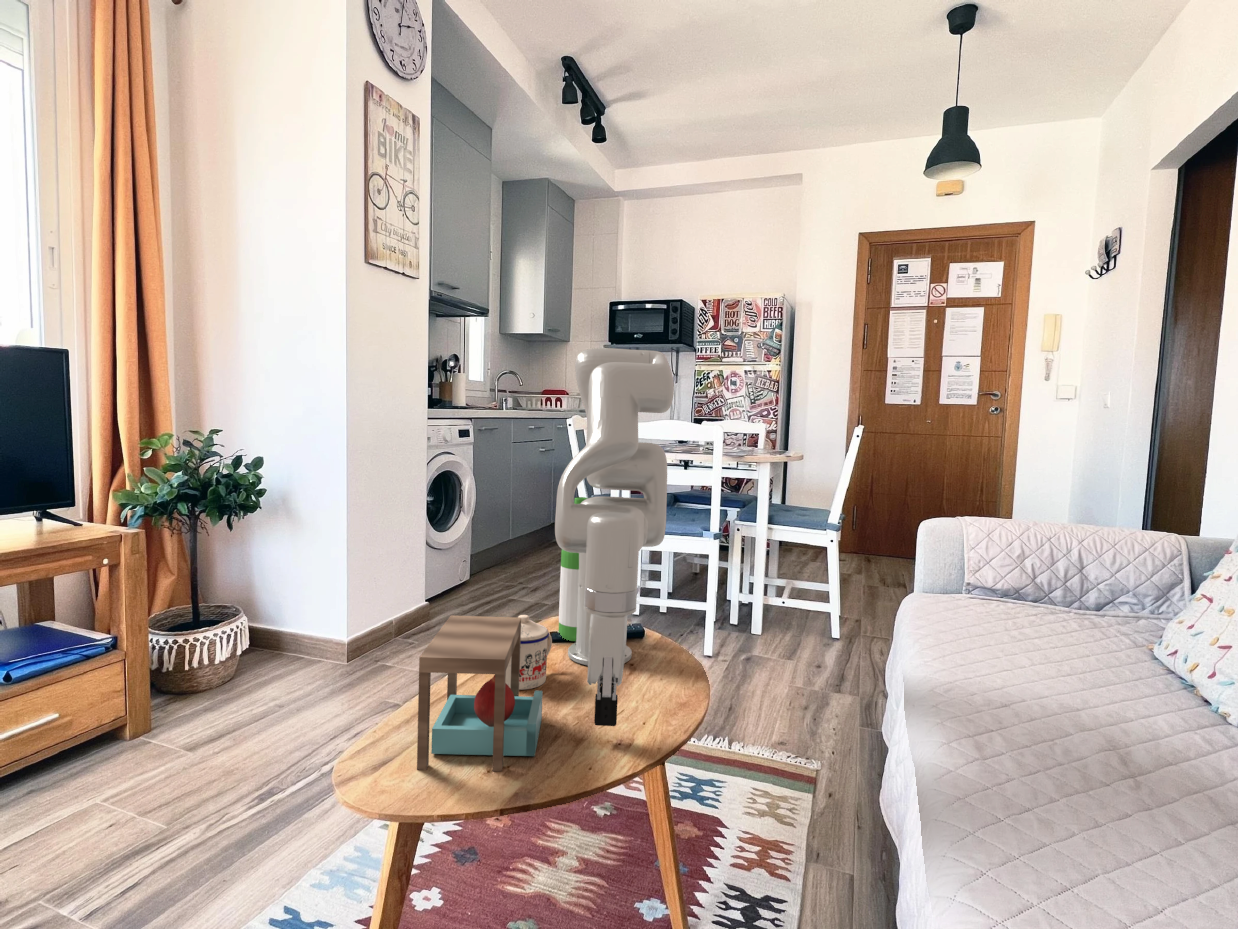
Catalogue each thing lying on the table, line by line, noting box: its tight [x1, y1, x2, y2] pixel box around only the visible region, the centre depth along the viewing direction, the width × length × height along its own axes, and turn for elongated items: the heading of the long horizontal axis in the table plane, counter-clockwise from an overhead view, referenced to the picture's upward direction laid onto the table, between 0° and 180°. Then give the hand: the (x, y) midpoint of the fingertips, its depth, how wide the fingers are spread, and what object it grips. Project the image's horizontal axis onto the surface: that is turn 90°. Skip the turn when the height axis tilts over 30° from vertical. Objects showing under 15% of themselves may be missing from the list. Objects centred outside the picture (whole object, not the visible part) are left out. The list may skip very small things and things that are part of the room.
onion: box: [474, 674, 515, 727], centre depth 94 cm, size 6×6×8 cm
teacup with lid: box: [506, 614, 553, 691], centre depth 116 cm, size 12×9×12 cm
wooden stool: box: [416, 615, 521, 772], centre depth 93 cm, size 18×11×15 cm, turn 2°
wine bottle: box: [558, 496, 589, 642], centre depth 138 cm, size 8×8×30 cm
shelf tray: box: [431, 689, 543, 757], centre depth 94 cm, size 11×14×4 cm
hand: (605, 723), depth 94 cm, fingers closed
